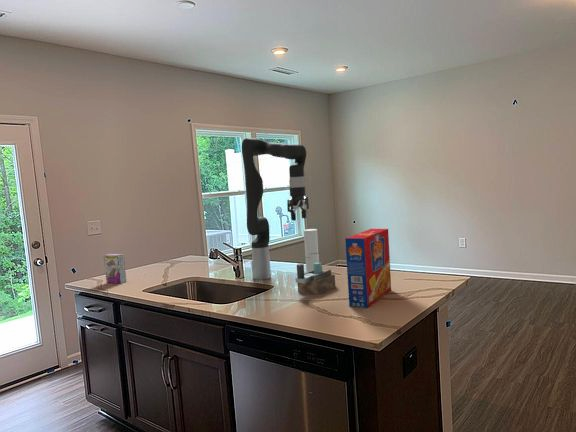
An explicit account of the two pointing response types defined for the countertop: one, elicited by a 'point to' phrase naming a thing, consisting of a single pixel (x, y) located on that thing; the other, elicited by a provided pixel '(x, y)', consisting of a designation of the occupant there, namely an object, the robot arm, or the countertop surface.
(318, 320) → the countertop surface
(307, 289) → the socket block
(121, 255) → the candy bar box
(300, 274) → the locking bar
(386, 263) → the pasta box
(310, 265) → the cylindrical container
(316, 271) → the teal peg
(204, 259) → the countertop surface
